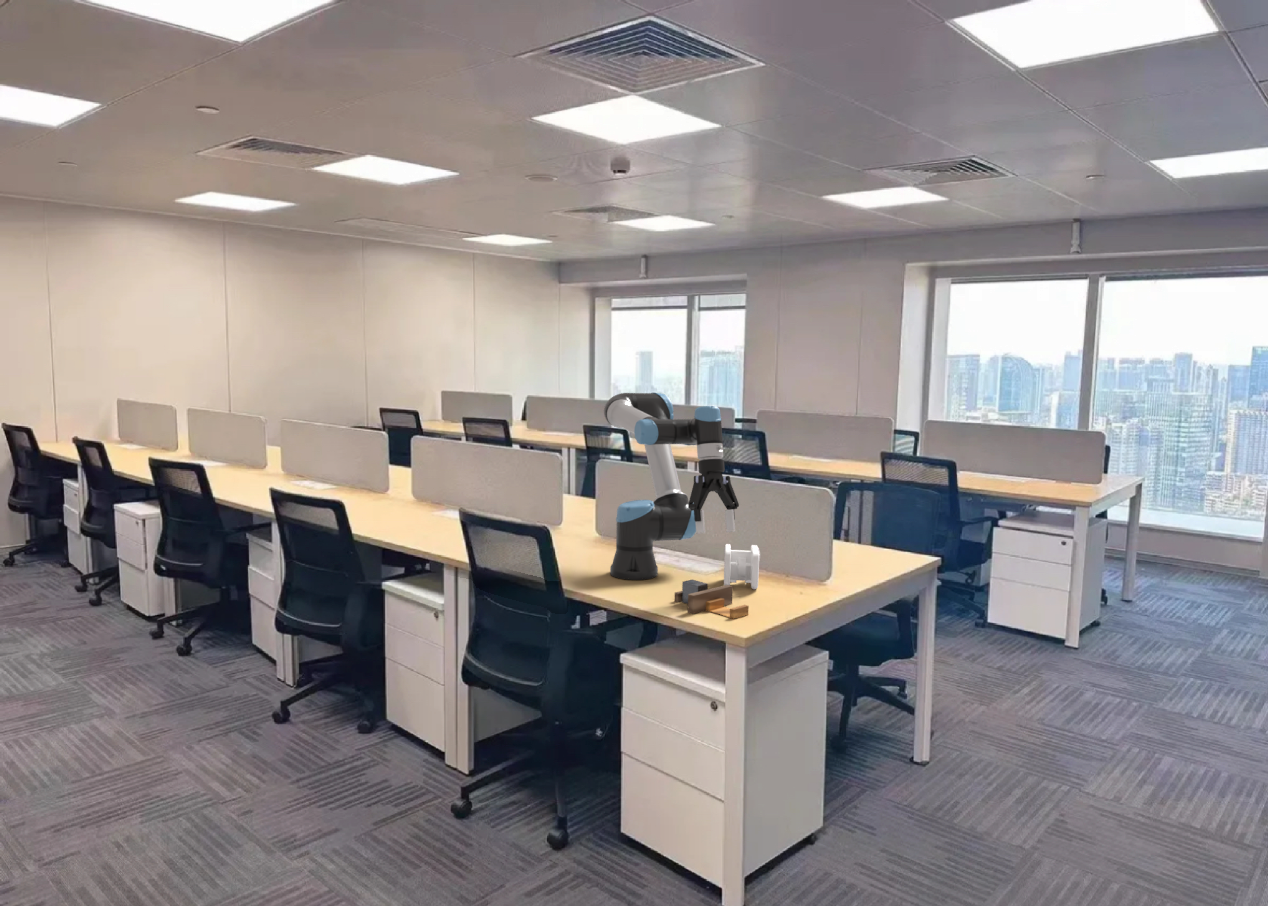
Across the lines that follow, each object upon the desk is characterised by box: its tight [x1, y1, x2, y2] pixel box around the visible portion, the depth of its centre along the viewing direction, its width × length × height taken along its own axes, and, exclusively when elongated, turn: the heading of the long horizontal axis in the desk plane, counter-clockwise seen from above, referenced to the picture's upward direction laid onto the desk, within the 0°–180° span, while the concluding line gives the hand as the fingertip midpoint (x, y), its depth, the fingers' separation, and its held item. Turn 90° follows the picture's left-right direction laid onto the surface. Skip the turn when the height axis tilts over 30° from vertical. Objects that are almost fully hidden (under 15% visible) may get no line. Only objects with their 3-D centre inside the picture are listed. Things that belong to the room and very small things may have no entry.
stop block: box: [681, 579, 709, 605], centre depth 239 cm, size 6×4×6 cm, turn 43°
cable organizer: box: [723, 543, 761, 590], centre depth 260 cm, size 15×11×12 cm
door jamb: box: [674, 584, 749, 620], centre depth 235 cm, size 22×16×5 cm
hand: (716, 532), depth 245 cm, fingers open, 13 cm apart
